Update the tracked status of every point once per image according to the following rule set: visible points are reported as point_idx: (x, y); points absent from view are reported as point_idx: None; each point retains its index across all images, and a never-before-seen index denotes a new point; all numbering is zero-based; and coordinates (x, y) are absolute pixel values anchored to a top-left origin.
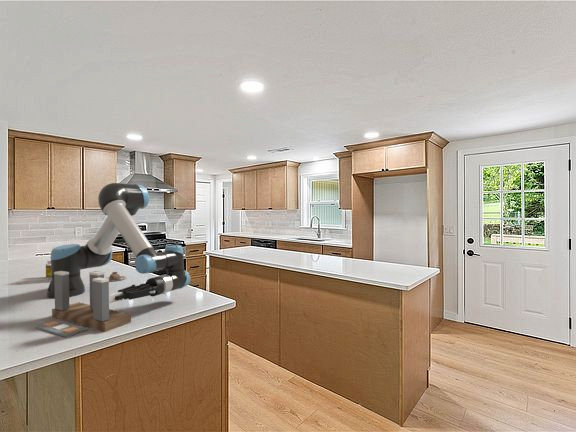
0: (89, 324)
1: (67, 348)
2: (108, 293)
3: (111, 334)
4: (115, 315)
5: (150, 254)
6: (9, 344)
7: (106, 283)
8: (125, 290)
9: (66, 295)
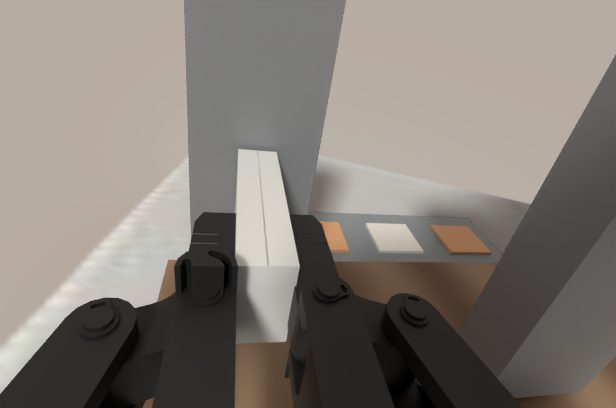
0: None
1: (172, 186)
2: (187, 102)
3: (100, 295)
4: (243, 370)
5: None
6: (352, 166)
7: None
8: (342, 369)
9: None
